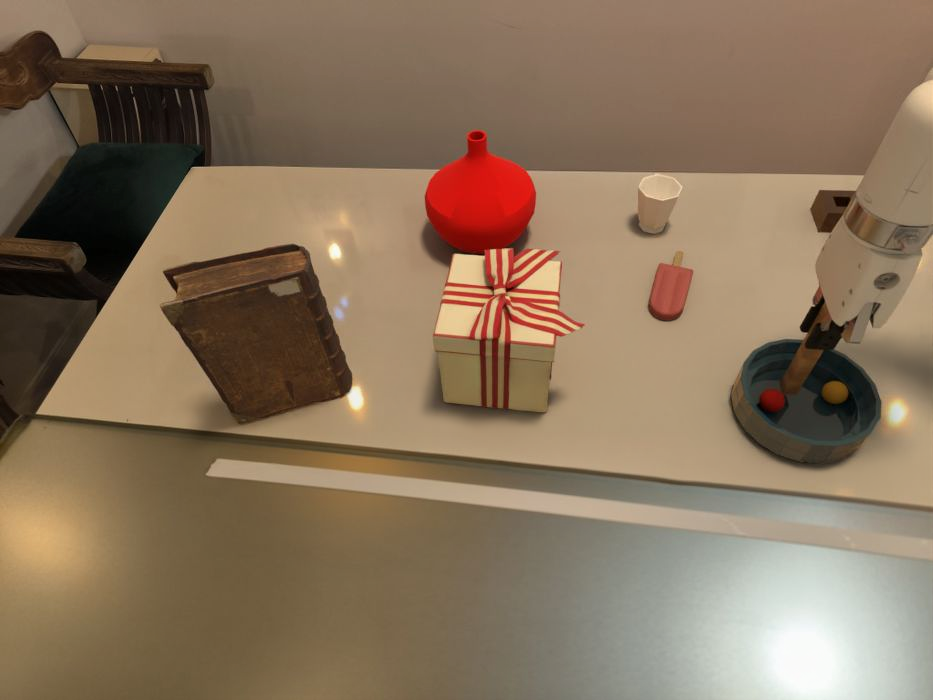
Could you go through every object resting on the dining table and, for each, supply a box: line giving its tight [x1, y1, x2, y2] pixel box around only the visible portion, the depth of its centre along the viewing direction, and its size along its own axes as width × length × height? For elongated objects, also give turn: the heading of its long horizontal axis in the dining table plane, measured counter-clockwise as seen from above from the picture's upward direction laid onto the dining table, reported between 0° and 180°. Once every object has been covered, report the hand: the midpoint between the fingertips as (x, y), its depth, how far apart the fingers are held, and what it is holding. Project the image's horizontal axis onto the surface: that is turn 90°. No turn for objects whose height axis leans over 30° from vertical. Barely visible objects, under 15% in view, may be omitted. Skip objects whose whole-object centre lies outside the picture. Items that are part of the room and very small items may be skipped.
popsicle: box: [648, 250, 694, 321], centre depth 95 cm, size 5×2×15 cm
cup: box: [637, 173, 683, 235], centre depth 102 cm, size 7×10×8 cm
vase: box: [424, 129, 537, 255], centre depth 98 cm, size 18×18×19 cm
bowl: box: [730, 338, 883, 465], centre depth 78 cm, size 16×16×5 cm
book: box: [159, 243, 354, 425], centre depth 77 cm, size 17×7×25 cm, turn 100°
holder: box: [810, 189, 856, 233], centre depth 101 cm, size 6×6×4 cm
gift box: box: [432, 247, 586, 413], centre depth 81 cm, size 17×18×17 cm
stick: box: [780, 302, 828, 395], centre depth 74 cm, size 2×2×16 cm
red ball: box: [759, 389, 785, 412], centre depth 79 cm, size 3×3×3 cm
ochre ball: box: [822, 381, 848, 404], centre depth 79 cm, size 3×3×3 cm
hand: (816, 338), depth 72 cm, fingers closed on stick, 1 cm apart
